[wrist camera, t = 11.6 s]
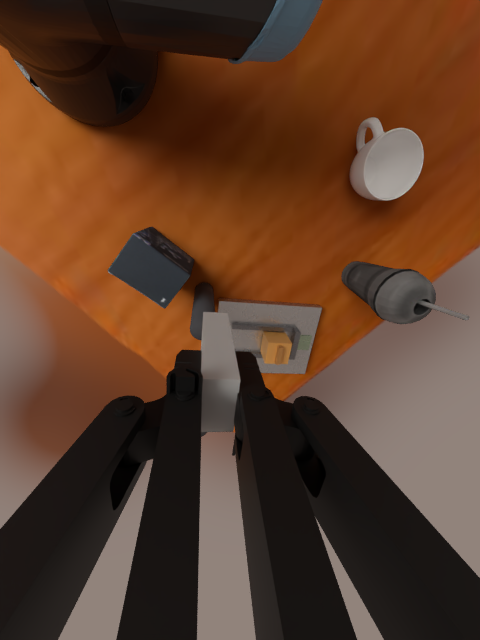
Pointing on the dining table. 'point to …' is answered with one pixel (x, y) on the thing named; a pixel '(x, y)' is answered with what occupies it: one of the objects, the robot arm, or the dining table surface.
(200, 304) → the cord post
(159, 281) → the box
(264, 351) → the block
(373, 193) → the cup
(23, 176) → the dining table surface
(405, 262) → the dining table surface
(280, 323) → the breaker panel
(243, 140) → the dining table surface
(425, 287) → the beverage cup
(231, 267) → the dining table surface
